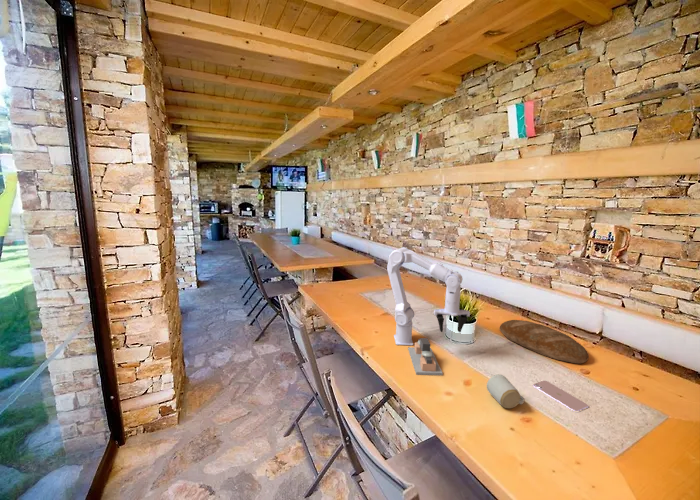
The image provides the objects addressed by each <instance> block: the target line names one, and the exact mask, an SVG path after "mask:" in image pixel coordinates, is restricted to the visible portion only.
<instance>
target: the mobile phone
mask: <svg viewBox="0 0 700 500" xmlns="http://www.w3.org/2000/svg"><path fill="white" fill-rule="evenodd" d="M532 387H533V388H534V389H536V390H538V391H540V392H541V393H542V392H543V393H542V394H544V395H546V396H547V397H549V398H551V400H554V401H555V402H556V403H558V404H560V403H561V404H560V405H562V406H563V405H564V406H563V407H565V406H566V407H565V408H567V409H568V408H569V410H570V409H571V410H570V411H572V410H573V411H572V412H574V411H580V410H582V411H584V410H586V409H585V408H587V409H588V408H589V407H590V406H589V404H587V403H586V402H584V401H583V400H580V399H579V398H578V397H575V396H574V395H572V394H570V393H568V392H567V391H565V390H563V389H562V388H560V387H558V386H556V385H554V383H551V382H549V381H547V380H542V381H539V382H536V383H533V384H532ZM583 409H584V410H583ZM580 412H581V411H580Z"/></svg>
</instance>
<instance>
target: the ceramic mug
mask: <svg viewBox="0 0 700 500" xmlns="http://www.w3.org/2000/svg"><path fill="white" fill-rule="evenodd" d="M486 390H487V391H488V393H489V394H490V395H491V396H492V397H493V398H494V399H495V400H496V401H497V403H498V404H500V405H501V407H503V408H505V409H513V408H515V407H516V406H517V405H523V404H524V403H525V398H524V397H523V395H521V394H520V392H519V391H518V389H517V388H516V387H515V386H514V385H513V383H512V382H510V380H509V379H508V378H507V377H506V376H505V375H503V374H494V375H492V376H491V377H490V378H489V379H488V380H487V382H486Z"/></svg>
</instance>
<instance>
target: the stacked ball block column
mask: <svg viewBox="0 0 700 500" xmlns="http://www.w3.org/2000/svg"><path fill="white" fill-rule="evenodd" d="M417 342H418V344H419V346H420V348H421V350H422V355H423V356H424V358H425V361H426V363H427V364H432V359H431V357H432V352H430V348H431V343H430V341H429V339H428V338H427V337H426V338H425V337H420V338H418V341H417Z"/></svg>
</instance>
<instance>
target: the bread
mask: <svg viewBox="0 0 700 500" xmlns="http://www.w3.org/2000/svg"><path fill="white" fill-rule="evenodd" d="M499 331H500V332H501V334H503V335H504V336H505V337H506V338H507V339H508V340H510V341H512V342H513V343H516V344H518V345H519V346H522V347H524V348H525V349H528V350H530V351H533V352H534V353H537V354H540V355H542V356H545V357H548V358H551V359H554V360H557V361H562V362H567V363H572V364H578V365H579V364H583V363H586V362H587V361H588V359H589V358H590V356H589V352H588V350H587V348H585V347H584V346H583V345H582V344H581V343H580V342H578V341H577V340H575V338H572V337H571V336H569V335H568V334H566V333H563V332H562V331H559V330H557V329H554V328H552V327H550V326H546V325H544V324H542V323H541V324H540V323H535V322H532V321H528V320H520V319H510V320H506V321H503V322H502V323H501V324H500V325H499Z"/></svg>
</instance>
